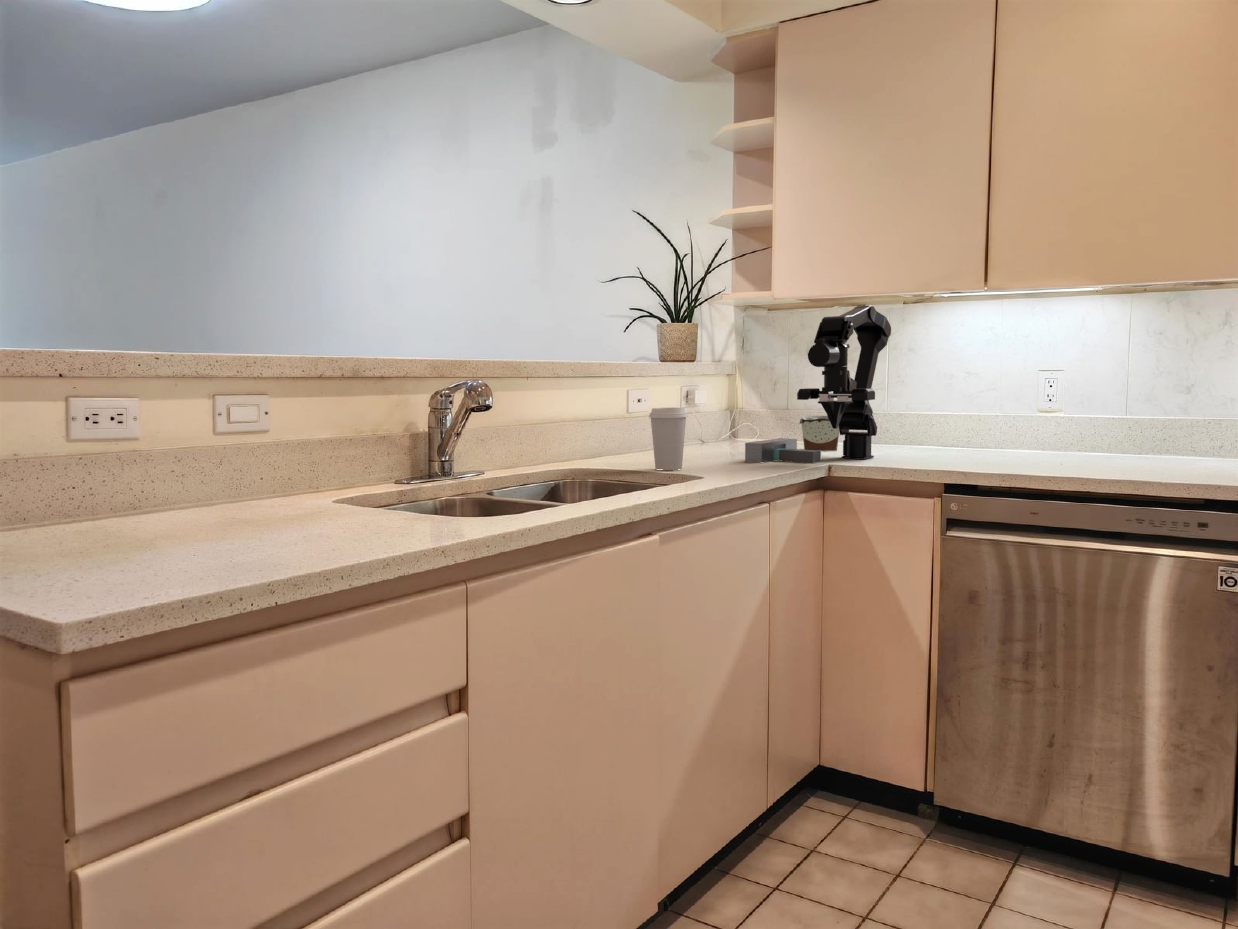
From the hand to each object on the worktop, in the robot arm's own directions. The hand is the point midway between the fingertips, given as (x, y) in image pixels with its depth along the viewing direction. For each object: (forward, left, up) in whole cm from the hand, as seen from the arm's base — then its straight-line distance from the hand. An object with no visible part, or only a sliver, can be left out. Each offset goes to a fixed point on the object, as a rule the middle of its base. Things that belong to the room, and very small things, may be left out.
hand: (835, 428), depth 229 cm
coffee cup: (+27, +34, -9) cm, 44 cm away
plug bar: (+11, 0, -9) cm, 15 cm away
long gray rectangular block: (+18, 0, -9) cm, 21 cm away
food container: (+21, -31, -9) cm, 38 cm away
